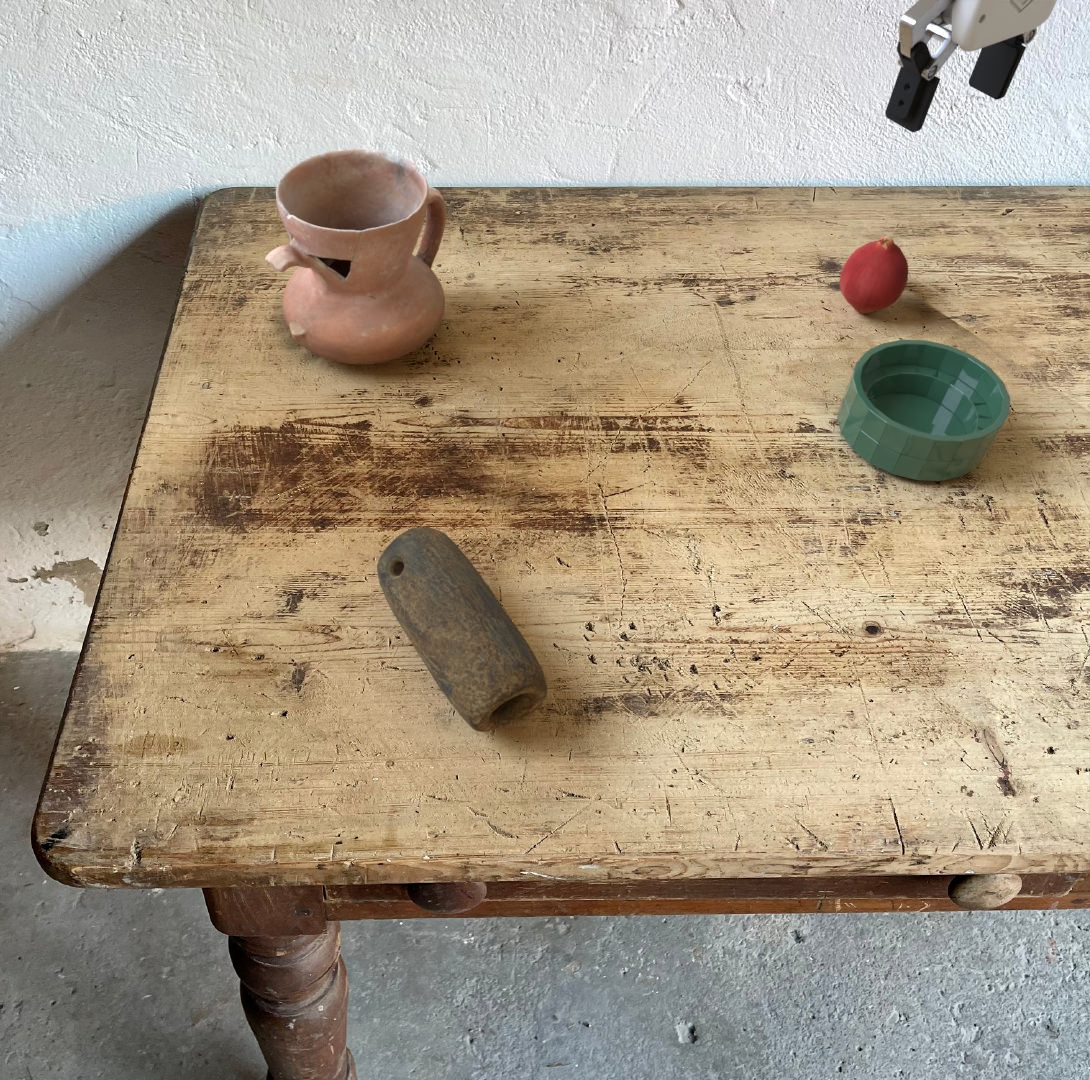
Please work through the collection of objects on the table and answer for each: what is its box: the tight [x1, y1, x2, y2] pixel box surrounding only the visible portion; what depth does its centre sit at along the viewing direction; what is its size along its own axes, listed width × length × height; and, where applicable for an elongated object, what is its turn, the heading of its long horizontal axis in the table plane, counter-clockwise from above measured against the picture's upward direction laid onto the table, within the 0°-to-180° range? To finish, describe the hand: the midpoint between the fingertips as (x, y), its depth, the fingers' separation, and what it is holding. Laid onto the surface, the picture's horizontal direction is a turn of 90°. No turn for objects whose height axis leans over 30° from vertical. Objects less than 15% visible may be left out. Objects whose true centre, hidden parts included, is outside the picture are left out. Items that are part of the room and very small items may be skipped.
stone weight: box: [376, 526, 548, 733], centre depth 68 cm, size 15×7×7 cm, turn 34°
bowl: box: [836, 339, 1011, 482], centre depth 82 cm, size 12×12×5 cm
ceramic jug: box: [264, 148, 447, 365], centre depth 86 cm, size 18×14×14 cm
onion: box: [839, 235, 909, 315], centre depth 91 cm, size 6×6×8 cm
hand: (944, 107), depth 78 cm, fingers open, 9 cm apart
